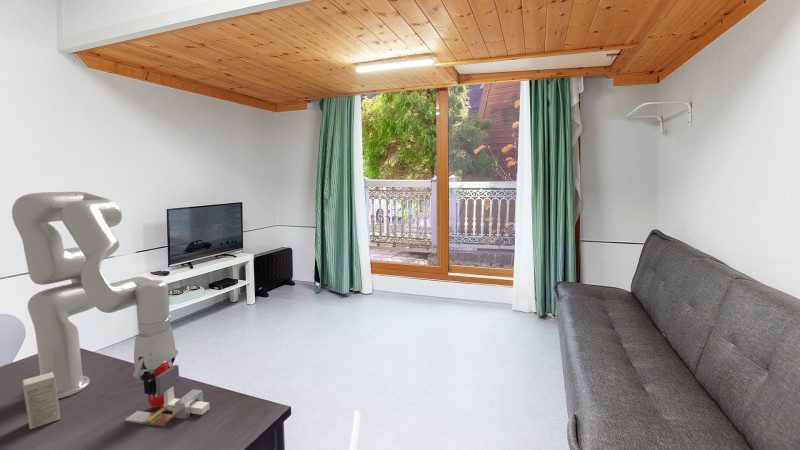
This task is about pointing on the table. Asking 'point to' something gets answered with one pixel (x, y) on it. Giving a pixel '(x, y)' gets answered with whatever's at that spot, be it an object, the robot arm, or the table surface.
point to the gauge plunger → (166, 387)
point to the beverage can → (156, 399)
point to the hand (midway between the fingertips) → (158, 387)
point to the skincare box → (41, 400)
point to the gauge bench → (178, 410)
